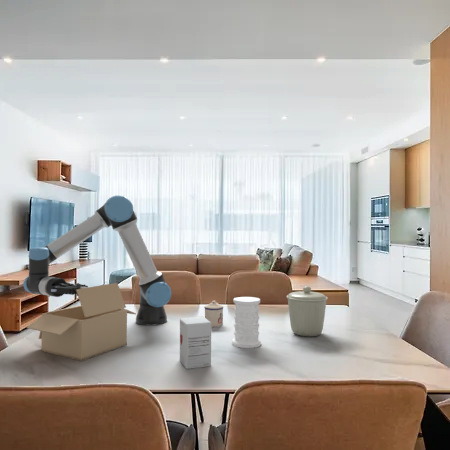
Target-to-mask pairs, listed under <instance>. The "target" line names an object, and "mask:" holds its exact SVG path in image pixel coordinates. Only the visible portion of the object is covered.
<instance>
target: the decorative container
mask: <svg viewBox="0 0 450 450" xmlns="http://www.w3.org/2000/svg"><path fill="white" fill-rule="evenodd" d="M232 302H233V304H234V309H233V310H234V316H233V318H234V324H233V326H234V331H233V335H234V338H232V340H231V341H232V344H231V345H232V346H234V347H236V348H240V349H241V348H242V349H254V347H255V348H259V347H260V346H261V345H262V341H261V339H260V338H259V336H260V331H259V328H260V323H259V320H260V315H259V312H260V307H259V305H260V304H261V298H259V297H254V296H240V297H239V296H238V297H234V298H233V301H232Z"/></svg>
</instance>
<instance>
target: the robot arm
mask: <svg viewBox="0 0 450 450" xmlns="http://www.w3.org/2000/svg"><path fill="white" fill-rule="evenodd" d="M137 221H138V218H137V215H136V213H135V210H134V205H133V203H132V201H131V200H130V199H129V198H128V197H126V196H124V195H122V194H121V195H118V194H117V195H113V196H111V197H109V198H108V199H107V200H106V202H105V203H104V204H103V205H102V206H101V207H100V208H98V209H97V210H95V211H94V214H92V215H91V216H90V217H88V218H86V219H85V220H83V221H82V222H81V223H79V224H77V225H76V226H74V227H73V228H71V229H70V230H69V231H67V232H66V233H65V232H64V234H62V235H60V236H59V237H58V238H56V239H55V240H53V241H52V242H49V243H48V244H47V245H45V246H43V247H42V246H41V247H40V246H39V247H36V246H35V247H31V248H29V249H28V250H29V251H28V252H29V253H28V276H26V277H25V279H24V281H23V285H22V287H23V289H24V290H25V291H26V292H27V293H30V294H33V295H43V296H47V297H48V298H50V297H56V298H60V297H62V296H64V295H72V296H74V295H76V297H78V294H77V291H76V290H77V289H82V288H88V287H89V286H88V285H86V284H81V283H79V282H76V283H75V284H74V283H70V282H67V281H66V280H65V279H64V278H63V277H54V276H49V275H50V274H49V273H50V272H49V271H50V270H49V269H50V268H49V267H50V266H49V265H50V264H51V263H54V262H55V261H56V260H57V259H59V258H60V257H62V256H63V255H65V254H67V253H68V252H69V251H71V250H73V249H74V248H76V247H77V246H79V245H80V244H81V243H83V242H84V241H86V240H88V239H89V238H90V237H92V236H94V235H95V234H97V233H98V232H99V231H101V230H103V229H104V228H109V227H112V230H113V231H116V232H117V233H118V235H119V237H120V239H121V242H122V243H123V245H124V247H125V249H126V252H127V254H128V256H129V258H130V261H131V263H132V265H133V267H134V270H135V271H136V273H137V276H138V278H139V281H138V286H139V308H138V311H137V313H136V316H135V323H136V324H137V325H142V326H156V325H157V326H158V325H162V324H165V323H167V322H168V315H167V312H166V310H165V307H164V306H165V305H167V304H168V303H169V302H170V300H171V298H172V289H171V287H170V286H169V284H167V281H166V279H165V277H164V275H163V273H162V272H161V271H158V269H157V268H156V265H155V262H154V261H153V259H152V256H151V254H150V252H149V249H148V248H147V245H146V243H145V241H144V239H143V235H141V234H142V233H140V230H139V227H138V226H137V223H138V222H137Z"/></svg>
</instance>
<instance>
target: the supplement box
mask: <svg viewBox="0 0 450 450" xmlns="http://www.w3.org/2000/svg"><path fill="white" fill-rule="evenodd" d="M179 361H180V363H181V364H182V366H183V367H184V368H185V369H186V370H189V369H195V368H197V367H198V368H203V367H204V366H205V367H211V366H212V327H211V322H210V321H208V320H207V319H206V318H205V316H196V317H182V318H180V319H179ZM205 367H204V368H205Z"/></svg>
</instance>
